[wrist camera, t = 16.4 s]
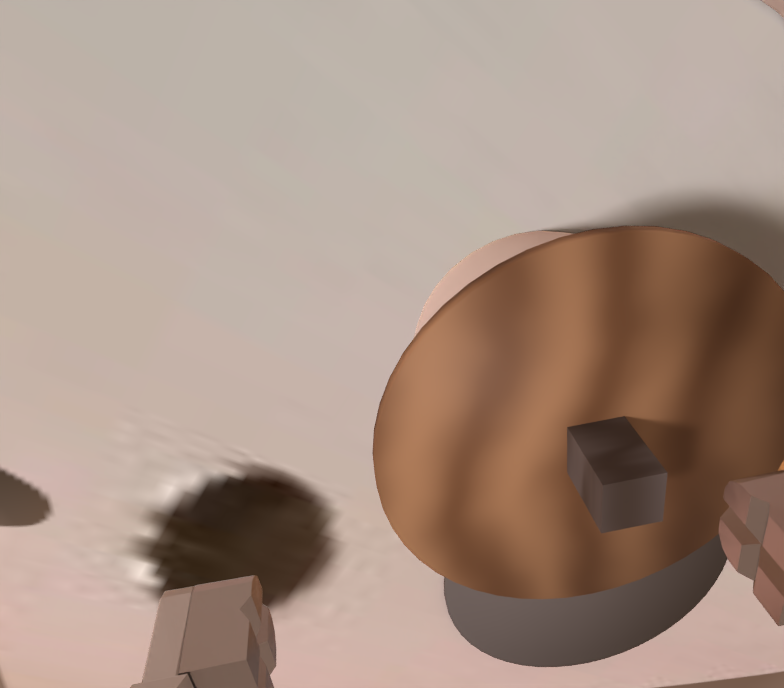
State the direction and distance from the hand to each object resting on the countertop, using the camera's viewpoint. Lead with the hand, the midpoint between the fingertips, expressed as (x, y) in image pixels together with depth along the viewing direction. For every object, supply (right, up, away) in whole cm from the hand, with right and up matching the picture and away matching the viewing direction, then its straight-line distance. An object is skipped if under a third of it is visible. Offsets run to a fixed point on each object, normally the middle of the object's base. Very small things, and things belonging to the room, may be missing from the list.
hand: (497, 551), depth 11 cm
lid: (+10, -2, +28) cm, 30 cm away
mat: (+17, -18, +52) cm, 57 cm away
